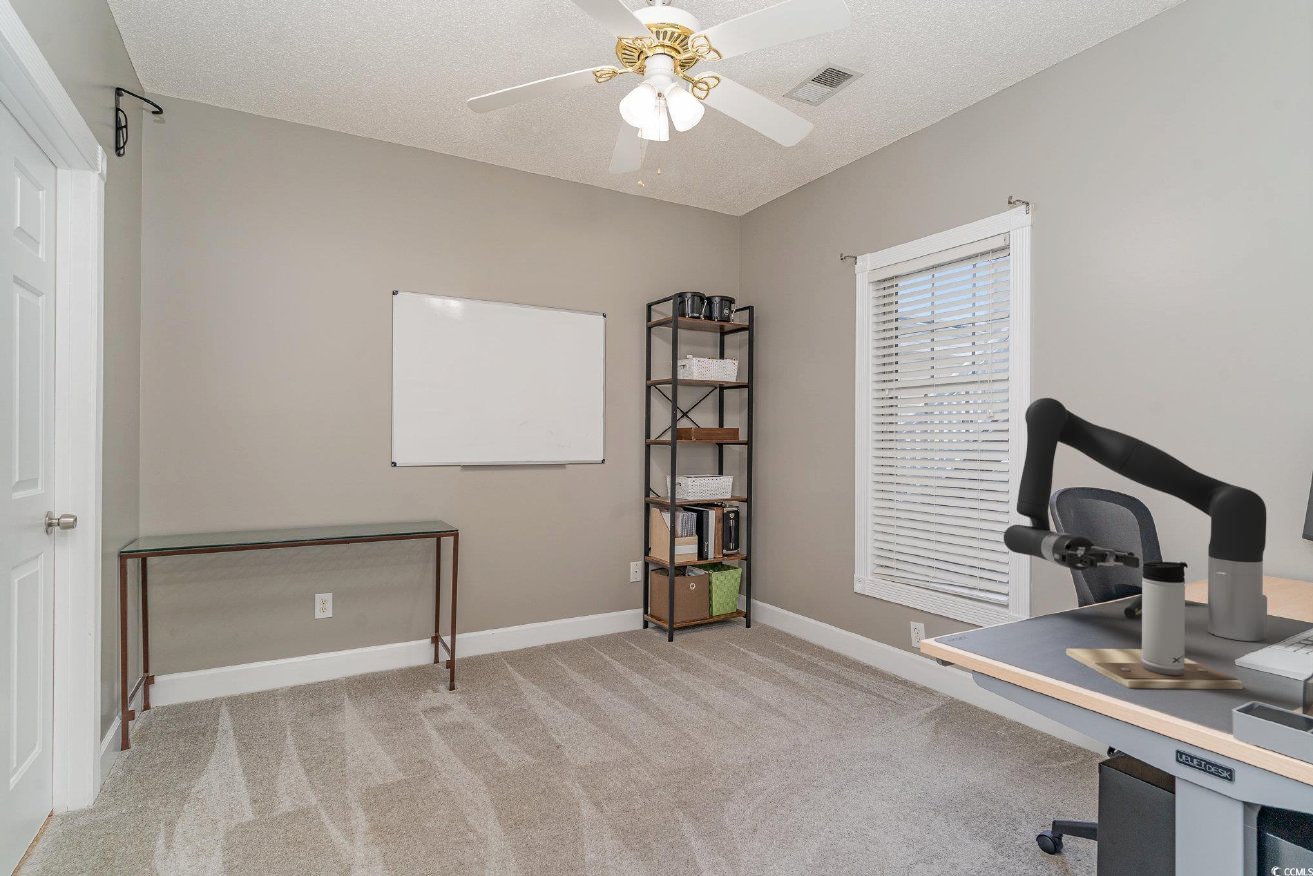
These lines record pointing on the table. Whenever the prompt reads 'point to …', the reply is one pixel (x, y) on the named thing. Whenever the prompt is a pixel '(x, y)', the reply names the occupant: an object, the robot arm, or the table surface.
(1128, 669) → the plywood panel
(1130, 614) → the mallet
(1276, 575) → the table surface
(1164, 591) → the travel mug
